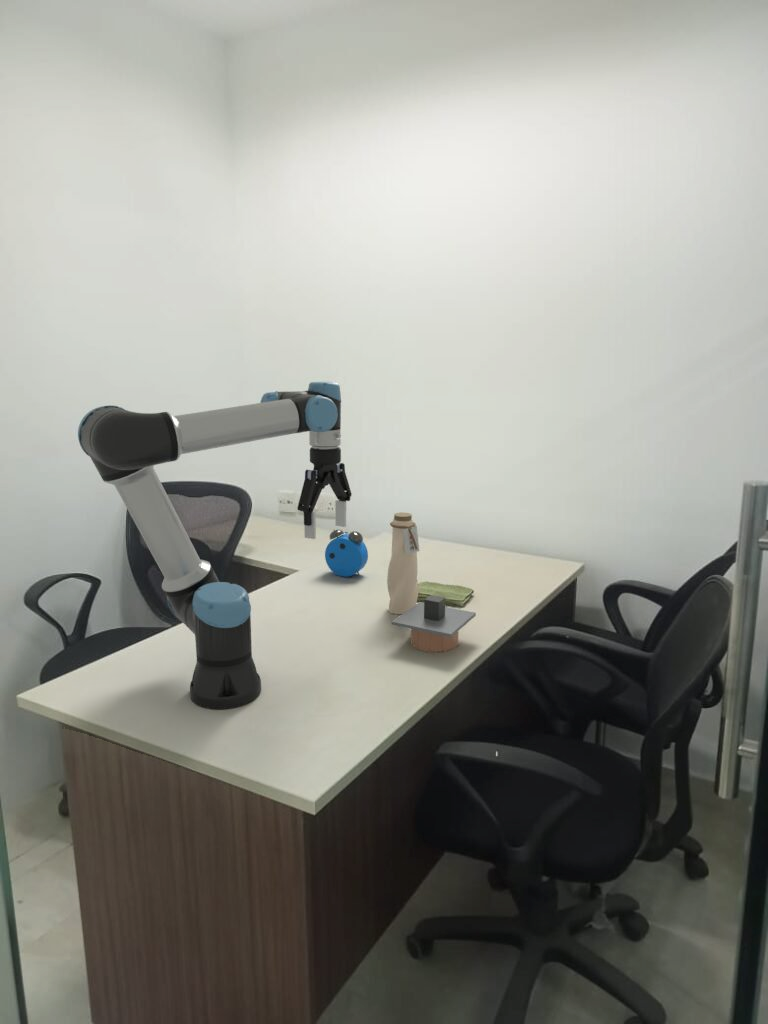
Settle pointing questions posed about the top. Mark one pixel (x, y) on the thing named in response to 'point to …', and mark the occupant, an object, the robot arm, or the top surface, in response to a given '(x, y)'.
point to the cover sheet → (431, 625)
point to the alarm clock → (346, 553)
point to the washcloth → (444, 592)
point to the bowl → (433, 641)
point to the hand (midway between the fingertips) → (325, 531)
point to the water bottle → (403, 564)
